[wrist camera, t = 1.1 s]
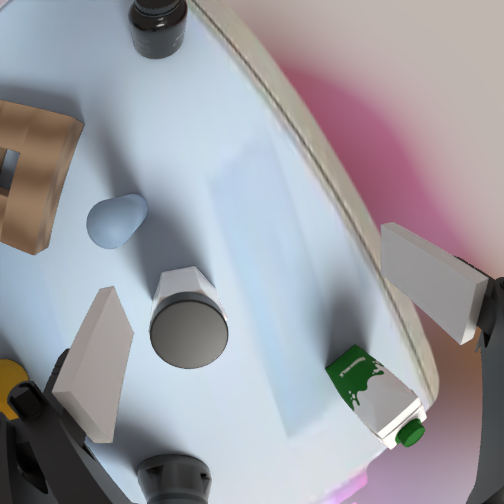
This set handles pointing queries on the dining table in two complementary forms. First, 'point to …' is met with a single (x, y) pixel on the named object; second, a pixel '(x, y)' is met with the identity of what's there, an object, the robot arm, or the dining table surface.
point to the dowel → (116, 220)
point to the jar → (187, 319)
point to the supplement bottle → (157, 26)
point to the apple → (9, 383)
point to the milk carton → (378, 398)
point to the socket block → (34, 172)
